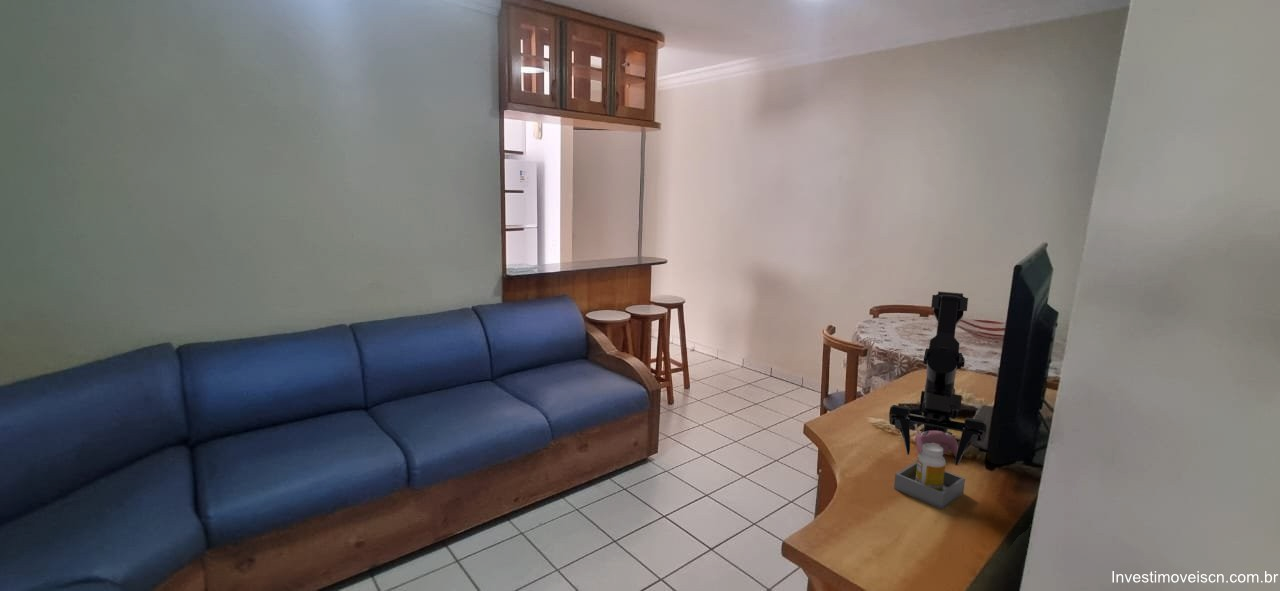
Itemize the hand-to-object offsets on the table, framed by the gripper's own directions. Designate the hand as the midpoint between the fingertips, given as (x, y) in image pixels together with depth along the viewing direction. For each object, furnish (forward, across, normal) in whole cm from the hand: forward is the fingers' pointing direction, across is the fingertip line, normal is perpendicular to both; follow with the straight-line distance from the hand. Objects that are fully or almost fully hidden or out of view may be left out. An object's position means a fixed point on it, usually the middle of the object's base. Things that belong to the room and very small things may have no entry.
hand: (931, 459), depth 117 cm
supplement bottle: (+4, 0, +7) cm, 8 cm away
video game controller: (-9, +1, +21) cm, 23 cm away
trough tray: (+5, 0, +7) cm, 8 cm away
